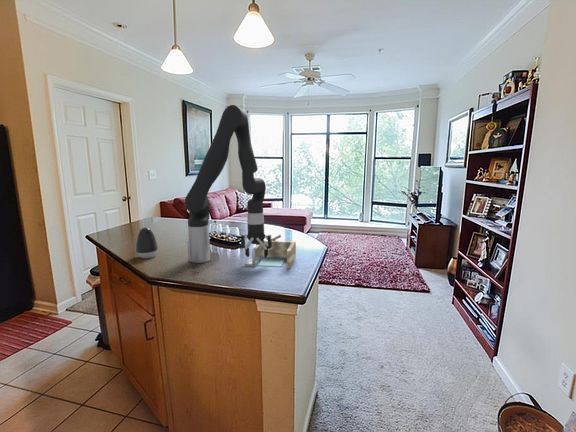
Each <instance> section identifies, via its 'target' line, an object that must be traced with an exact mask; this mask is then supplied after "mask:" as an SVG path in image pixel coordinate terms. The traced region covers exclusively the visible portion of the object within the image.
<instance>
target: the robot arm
mask: <svg viewBox="0 0 576 432" xmlns="http://www.w3.org/2000/svg"><path fill="white" fill-rule="evenodd" d="M233 135H235V138H236V141H237V156H238V160H239V164H240V168H241V171H242V173H241V181H242V183H241V184H242V188H243V191H244V192H245V193H246V194H247V195H252V197H251V198H250V199H249V200H248V201H247V204H246V207H247V215H246V216H247V218H246V223H247V234H245V233H243V234H241V236H240V247H241V249H242V248H243V249H244V250H245V252H244V254H245V256H246V258H249V257H250V246H251V245H256V244H258V245H259V244H261V246H263V248H264V249H265V250H264V257H263V258H268V257H267V256H268V249H270V248H271V247H272V239H273V238H272V234H269V235H268V234H265V217H264V200H265V197H266V196H265V195H266V191H267V189H266V187H267V186H266V182H265V180H264V179H263V178H261V177H255V175H254V174H255V173H257V172H258V165H257V164H258V163H257V160H256V158H255V154H254V153H255V152H254V150H253V146H252V141H251V135H250V127H249V119H248V115H247V113H246V112H245V111H244V110H243V109H242V108H240V107H239V106H238V105H235V104H230V105H227V107H226V108H224V110H223V112H222V114H221V117H220V120H219V123H218V127H217V129H216V132H215V135H213V138H212V141H211V143H210V146H209V148H208V150H207V152H206V154H205V156H204V159H203V160H202V164H201V166H200V168H199V169H198V170H199V171H198V174H197V176H196V178H195V181H194V182H193V184H192V186H191V187H190V188H189V191H188V193H187V195H186V196H185V198H184V206H185V209H186V210H188V211H189V218H188V220H187V224H188V225H187V227H188V240H189V241H187V257H188V262H191V263H195V264H200V263H201V264H202V263H207V262H209V261H210V260H211V249H210V248H211V247H210V246H211V245H210V229H209V228H210V227H209V221H210V200H209V197H208V195H209V191H210V189H211V187H212V186H213V184H214V182H216V180H217V179H218V178H219V176H220V175H221V174H222V171H223V169H224V167H225V166H226V163H227V161H228V159H229V152H230V143H231V139H232V137H233ZM247 239H248V242H247V243H246V240H247ZM264 240H265V241H268V246H267V244H266V243H265V241H264Z"/></svg>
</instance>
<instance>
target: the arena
mask: <svg viewBox="0 0 576 432" xmlns="http://www.w3.org/2000/svg"><path fill="white" fill-rule="evenodd" d="M264 241H265V243H266V244H267V246H268V240H266V239H264ZM256 245H258V244H255V246H256ZM259 245H260V258H261V257H263V258H265V257H264V250H265V249H264V248H263V246H261V244H259ZM296 246H297V241H287V240H286V241H285V240H276V241H272V247H271V248H270V249H268V256H267V257H266V258H281V259H282V258H283V259H284V258H285V259H286V269H291V268H292V266H293V264H294V262H295V260H296V258H297V254H296V253H297V248H296Z"/></svg>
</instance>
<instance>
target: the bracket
mask: <svg viewBox="0 0 576 432" xmlns="http://www.w3.org/2000/svg"><path fill="white" fill-rule="evenodd" d="M251 257H252V258H249V259H248V260H247V261H245V263H244V267H250V268H251V267H253V268H256V267H257V265H258V264H259V263H260V262H261V257H260V245H256V244H255V246H254V247H253V248H252V249H251Z"/></svg>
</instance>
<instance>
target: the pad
mask: <svg viewBox="0 0 576 432" xmlns="http://www.w3.org/2000/svg"><path fill="white" fill-rule="evenodd" d="M284 263H285V260H284V259H265V258H263V259H260V262H259V263H258V264H257V266H259V267H277V268H282V266H283V265H284ZM257 266H256V267H257Z"/></svg>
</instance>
